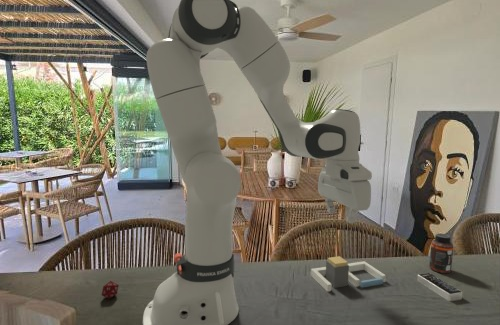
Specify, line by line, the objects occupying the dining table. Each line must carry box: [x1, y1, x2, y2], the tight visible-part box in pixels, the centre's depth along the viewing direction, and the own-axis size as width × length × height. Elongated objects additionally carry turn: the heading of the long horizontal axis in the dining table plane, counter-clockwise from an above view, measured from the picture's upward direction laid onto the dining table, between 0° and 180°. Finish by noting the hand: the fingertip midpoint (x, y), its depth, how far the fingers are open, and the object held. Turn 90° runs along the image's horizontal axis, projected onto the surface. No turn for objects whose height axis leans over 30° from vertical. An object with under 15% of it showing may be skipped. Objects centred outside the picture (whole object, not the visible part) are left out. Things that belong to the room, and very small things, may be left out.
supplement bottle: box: [428, 233, 454, 274], centre depth 95 cm, size 6×6×11 cm
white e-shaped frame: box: [310, 261, 387, 293], centre depth 89 cm, size 19×10×2 cm, turn 107°
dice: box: [101, 280, 119, 300], centre depth 78 cm, size 4×4×4 cm
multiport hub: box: [417, 272, 464, 302], centre depth 84 cm, size 4×11×2 cm, turn 14°
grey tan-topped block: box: [325, 256, 349, 289], centre depth 87 cm, size 4×4×7 cm
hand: (340, 217), depth 85 cm, fingers open, 8 cm apart
